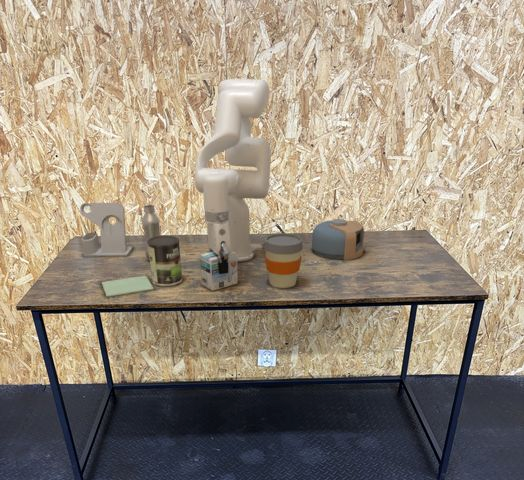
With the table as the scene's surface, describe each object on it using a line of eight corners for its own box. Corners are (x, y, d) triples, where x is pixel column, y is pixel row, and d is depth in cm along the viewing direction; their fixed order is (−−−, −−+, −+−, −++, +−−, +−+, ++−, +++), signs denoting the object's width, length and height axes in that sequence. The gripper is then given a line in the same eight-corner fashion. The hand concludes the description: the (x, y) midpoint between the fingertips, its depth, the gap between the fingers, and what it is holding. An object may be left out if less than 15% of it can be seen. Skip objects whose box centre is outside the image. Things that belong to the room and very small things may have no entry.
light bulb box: (212, 291, 161) (210, 260, 156) (201, 285, 166) (199, 254, 160) (238, 283, 167) (238, 252, 161) (227, 277, 171) (225, 247, 166)
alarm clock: (354, 263, 183) (357, 231, 177) (304, 254, 191) (305, 224, 185) (368, 247, 198) (371, 217, 192) (321, 240, 206) (323, 211, 200)
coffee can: (188, 278, 170) (185, 238, 163) (168, 288, 163) (164, 247, 156) (165, 272, 175) (161, 233, 168) (145, 282, 168) (140, 241, 160)
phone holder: (81, 256, 189) (72, 209, 180) (89, 247, 197) (80, 202, 188) (127, 256, 189) (120, 209, 180) (132, 247, 198) (126, 201, 189)
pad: (146, 276, 172) (146, 275, 171) (153, 289, 162) (153, 288, 162) (101, 283, 167) (101, 282, 166) (106, 297, 157) (106, 295, 157)
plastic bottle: (147, 264, 182) (140, 209, 172) (145, 257, 188) (139, 204, 178) (164, 262, 184) (159, 208, 173) (162, 256, 189) (157, 203, 179)
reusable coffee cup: (261, 289, 163) (261, 244, 155) (266, 274, 174) (266, 232, 166) (299, 291, 162) (301, 246, 154) (302, 276, 172) (304, 234, 165)
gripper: (238, 222, 149) (239, 276, 158) (219, 207, 163) (221, 258, 172) (214, 224, 146) (216, 280, 155) (197, 210, 160) (200, 261, 169)
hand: (219, 268), depth 163 cm, fingers closed on light bulb box, 8 cm apart
